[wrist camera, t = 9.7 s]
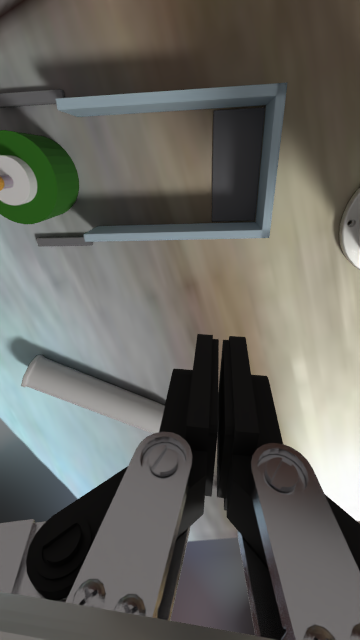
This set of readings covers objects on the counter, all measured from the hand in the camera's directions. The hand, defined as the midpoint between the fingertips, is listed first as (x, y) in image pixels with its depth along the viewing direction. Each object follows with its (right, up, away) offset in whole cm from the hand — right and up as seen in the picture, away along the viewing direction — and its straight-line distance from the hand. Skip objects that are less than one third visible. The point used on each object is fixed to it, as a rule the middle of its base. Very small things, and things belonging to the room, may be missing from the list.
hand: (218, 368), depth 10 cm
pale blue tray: (-2, +18, +21) cm, 28 cm away
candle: (-17, +18, +22) cm, 34 cm away
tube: (-14, -10, +38) cm, 42 cm away
